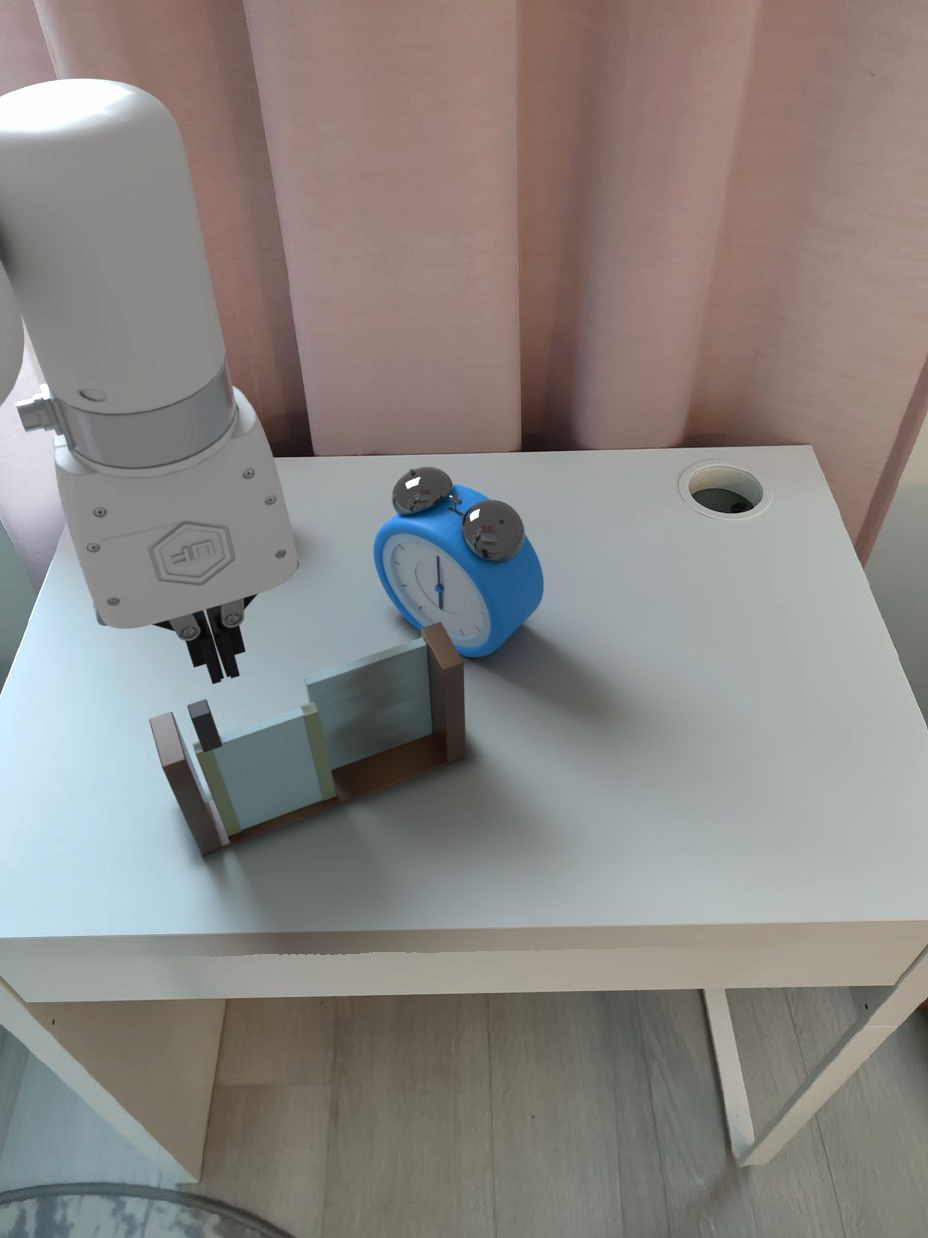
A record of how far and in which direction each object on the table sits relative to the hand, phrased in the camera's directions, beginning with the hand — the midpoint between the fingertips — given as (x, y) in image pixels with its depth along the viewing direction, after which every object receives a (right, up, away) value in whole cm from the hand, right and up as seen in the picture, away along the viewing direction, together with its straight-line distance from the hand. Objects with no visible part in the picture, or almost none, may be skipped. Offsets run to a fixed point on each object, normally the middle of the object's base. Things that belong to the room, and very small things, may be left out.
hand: (220, 662), depth 57 cm
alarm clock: (+14, +2, +27) cm, 30 cm away
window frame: (+4, -10, +16) cm, 20 cm away
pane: (+1, -11, +13) cm, 17 cm away
